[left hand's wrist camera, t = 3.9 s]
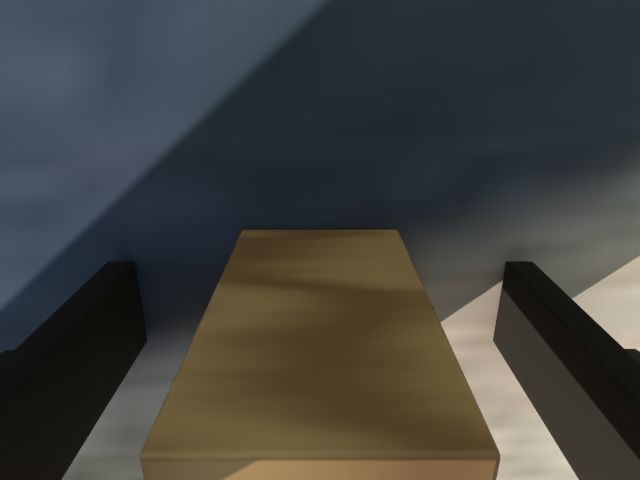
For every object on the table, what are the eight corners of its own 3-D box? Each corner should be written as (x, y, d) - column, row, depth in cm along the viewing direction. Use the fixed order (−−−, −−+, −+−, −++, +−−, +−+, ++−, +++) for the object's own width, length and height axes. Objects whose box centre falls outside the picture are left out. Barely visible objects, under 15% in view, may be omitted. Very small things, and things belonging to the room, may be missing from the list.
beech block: (250, 359, 15) (178, 668, 7) (241, 228, 13) (135, 455, 6) (389, 359, 15) (461, 667, 7) (398, 228, 13) (504, 455, 6)
